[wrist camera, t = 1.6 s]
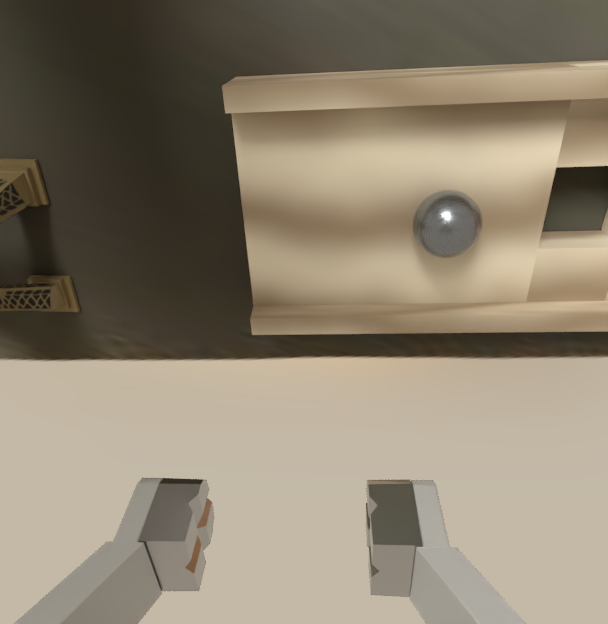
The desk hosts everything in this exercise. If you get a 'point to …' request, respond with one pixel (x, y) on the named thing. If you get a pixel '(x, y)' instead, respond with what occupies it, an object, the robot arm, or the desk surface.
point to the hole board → (418, 197)
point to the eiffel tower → (40, 289)
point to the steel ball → (447, 223)
